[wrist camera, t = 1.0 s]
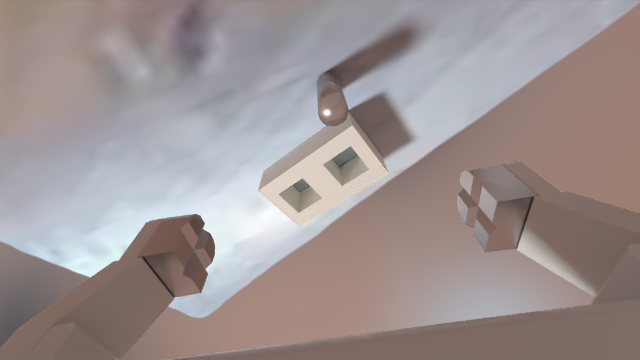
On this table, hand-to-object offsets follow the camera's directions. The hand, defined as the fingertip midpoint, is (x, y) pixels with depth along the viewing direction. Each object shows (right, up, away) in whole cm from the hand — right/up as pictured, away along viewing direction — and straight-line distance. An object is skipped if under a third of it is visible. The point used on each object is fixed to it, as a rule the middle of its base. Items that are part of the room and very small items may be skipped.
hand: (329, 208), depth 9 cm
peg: (+1, +13, +27) cm, 30 cm away
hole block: (0, +3, +34) cm, 34 cm away
